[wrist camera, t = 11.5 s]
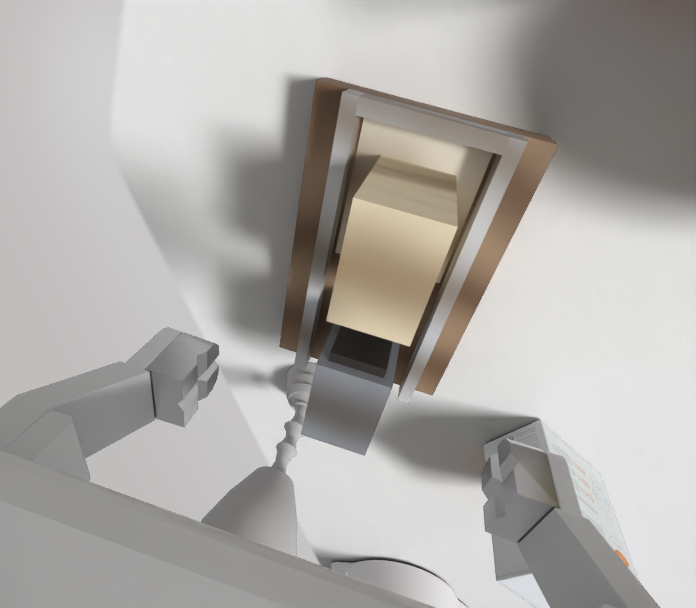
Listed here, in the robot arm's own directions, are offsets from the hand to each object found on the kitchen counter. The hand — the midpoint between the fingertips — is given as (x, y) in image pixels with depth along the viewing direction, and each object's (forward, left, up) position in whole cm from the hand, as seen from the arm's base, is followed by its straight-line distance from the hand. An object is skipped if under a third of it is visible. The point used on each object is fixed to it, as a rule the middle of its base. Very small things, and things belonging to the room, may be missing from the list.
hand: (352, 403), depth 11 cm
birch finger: (0, 0, -14) cm, 14 cm away
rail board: (-3, 0, -16) cm, 16 cm away
